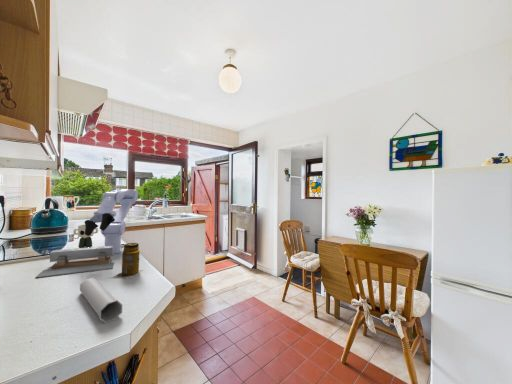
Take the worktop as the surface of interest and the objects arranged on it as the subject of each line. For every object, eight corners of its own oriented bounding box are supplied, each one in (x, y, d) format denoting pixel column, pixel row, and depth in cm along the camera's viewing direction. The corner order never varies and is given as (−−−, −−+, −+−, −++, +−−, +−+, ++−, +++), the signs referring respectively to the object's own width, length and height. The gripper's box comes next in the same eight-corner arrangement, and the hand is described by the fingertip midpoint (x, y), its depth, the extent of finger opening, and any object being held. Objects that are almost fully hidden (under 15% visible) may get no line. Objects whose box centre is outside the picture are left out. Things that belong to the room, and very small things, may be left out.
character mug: (72, 250, 116) (72, 226, 116) (73, 247, 122) (74, 224, 122) (97, 248, 122) (97, 225, 122) (97, 245, 128) (98, 223, 128)
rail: (52, 259, 93) (53, 250, 93) (112, 253, 104) (113, 245, 104) (49, 262, 90) (50, 252, 90) (112, 255, 101) (112, 247, 101)
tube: (74, 281, 69) (95, 310, 53) (93, 272, 73) (119, 296, 57) (80, 295, 70) (103, 327, 54) (99, 285, 74) (125, 312, 58)
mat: (43, 271, 86) (43, 270, 86) (114, 263, 98) (114, 262, 98) (35, 278, 79) (35, 277, 79) (112, 268, 91) (112, 267, 91)
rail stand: (57, 263, 96) (57, 253, 96) (110, 257, 106) (111, 248, 106) (50, 269, 88) (51, 258, 88) (109, 262, 98) (109, 253, 98)
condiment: (143, 270, 90) (144, 242, 90) (131, 278, 82) (132, 247, 82) (126, 270, 90) (127, 241, 91) (112, 277, 82) (113, 246, 82)
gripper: (85, 209, 103) (72, 232, 93) (112, 200, 102) (101, 222, 92) (97, 218, 108) (86, 240, 98) (122, 209, 106) (113, 230, 97)
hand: (94, 232), depth 95 cm, fingers open, 7 cm apart
